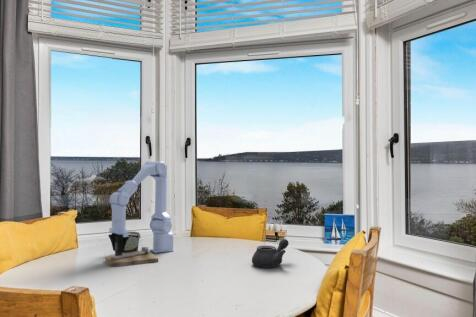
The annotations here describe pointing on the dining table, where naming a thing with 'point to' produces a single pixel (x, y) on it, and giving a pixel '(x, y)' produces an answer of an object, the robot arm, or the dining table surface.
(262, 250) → the teapot
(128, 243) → the food container
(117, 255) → the lever
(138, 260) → the walnut board
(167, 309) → the dining table surface
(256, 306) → the dining table surface
